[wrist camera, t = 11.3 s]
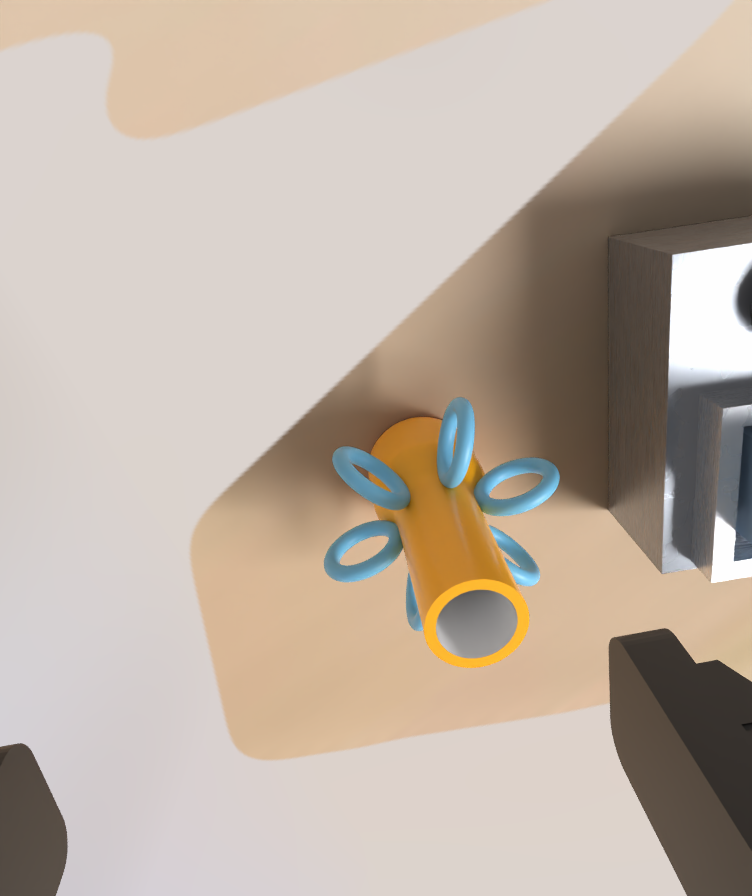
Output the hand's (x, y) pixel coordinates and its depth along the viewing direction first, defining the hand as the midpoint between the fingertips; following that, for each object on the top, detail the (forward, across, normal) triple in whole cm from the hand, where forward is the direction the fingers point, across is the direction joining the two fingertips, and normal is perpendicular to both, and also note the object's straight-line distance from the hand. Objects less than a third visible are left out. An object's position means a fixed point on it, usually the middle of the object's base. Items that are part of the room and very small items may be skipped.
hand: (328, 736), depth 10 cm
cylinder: (+29, -4, +10) cm, 31 cm away
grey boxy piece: (+29, -21, +7) cm, 37 cm away
